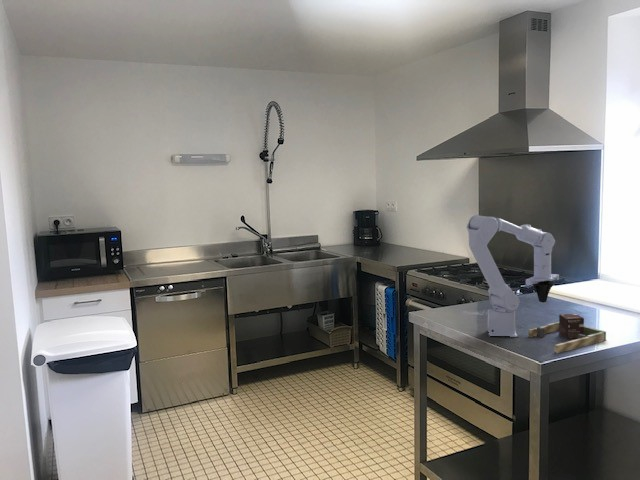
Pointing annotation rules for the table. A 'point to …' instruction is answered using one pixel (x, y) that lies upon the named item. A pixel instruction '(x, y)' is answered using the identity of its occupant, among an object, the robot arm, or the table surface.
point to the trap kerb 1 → (540, 332)
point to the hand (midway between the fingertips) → (542, 301)
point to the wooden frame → (591, 338)
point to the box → (571, 325)
